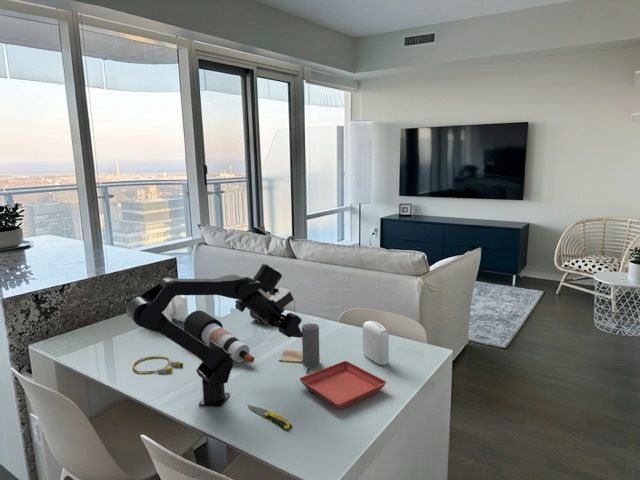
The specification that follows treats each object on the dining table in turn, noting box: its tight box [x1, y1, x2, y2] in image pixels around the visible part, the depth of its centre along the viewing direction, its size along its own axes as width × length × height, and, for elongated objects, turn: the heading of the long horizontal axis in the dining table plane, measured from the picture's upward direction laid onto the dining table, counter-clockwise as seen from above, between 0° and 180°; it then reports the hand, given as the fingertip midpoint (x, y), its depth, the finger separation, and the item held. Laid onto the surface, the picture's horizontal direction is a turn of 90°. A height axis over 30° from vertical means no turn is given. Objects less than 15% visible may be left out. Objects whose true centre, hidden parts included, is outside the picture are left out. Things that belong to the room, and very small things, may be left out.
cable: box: [182, 310, 255, 364], centre depth 151 cm, size 10×34×10 cm, turn 46°
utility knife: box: [247, 404, 293, 432], centre depth 113 cm, size 16×1×3 cm
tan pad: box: [278, 349, 303, 363], centre depth 146 cm, size 8×8×1 cm
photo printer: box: [362, 320, 390, 366], centre depth 142 cm, size 10×4×12 cm, turn 29°
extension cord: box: [132, 355, 184, 375], centre depth 141 cm, size 12×16×2 cm
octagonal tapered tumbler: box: [301, 323, 321, 368], centre depth 140 cm, size 5×5×12 cm
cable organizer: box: [162, 295, 189, 323], centre depth 179 cm, size 15×11×12 cm
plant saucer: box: [299, 360, 387, 410], centre depth 125 cm, size 18×18×3 cm
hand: (293, 331), depth 135 cm, fingers open, 9 cm apart
